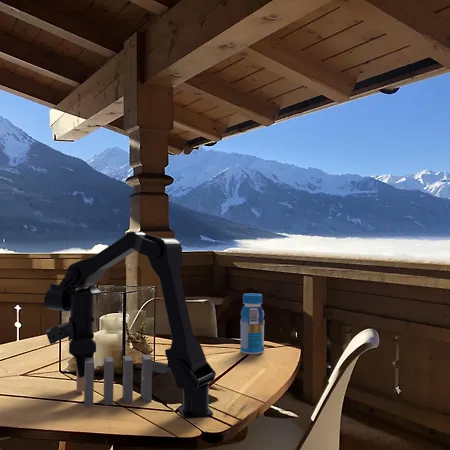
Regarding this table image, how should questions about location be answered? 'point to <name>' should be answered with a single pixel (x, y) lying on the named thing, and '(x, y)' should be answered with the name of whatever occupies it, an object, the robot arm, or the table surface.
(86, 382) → the domino
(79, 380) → the domino
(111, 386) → the domino
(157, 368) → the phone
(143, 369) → the domino
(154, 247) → the robot arm
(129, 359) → the domino
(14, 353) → the table surface
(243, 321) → the beverage bottle
